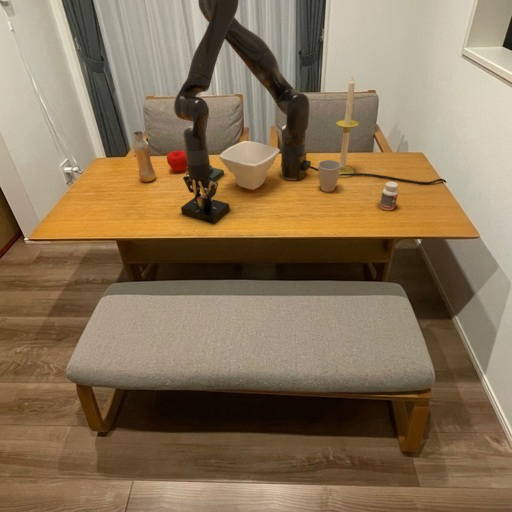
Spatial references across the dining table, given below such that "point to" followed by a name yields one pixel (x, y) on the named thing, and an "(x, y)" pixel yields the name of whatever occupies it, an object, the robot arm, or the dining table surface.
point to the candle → (347, 130)
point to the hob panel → (206, 211)
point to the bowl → (249, 162)
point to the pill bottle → (389, 196)
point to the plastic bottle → (143, 157)
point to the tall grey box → (201, 202)
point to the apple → (177, 160)
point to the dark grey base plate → (215, 173)
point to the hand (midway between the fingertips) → (203, 204)
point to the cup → (328, 174)
